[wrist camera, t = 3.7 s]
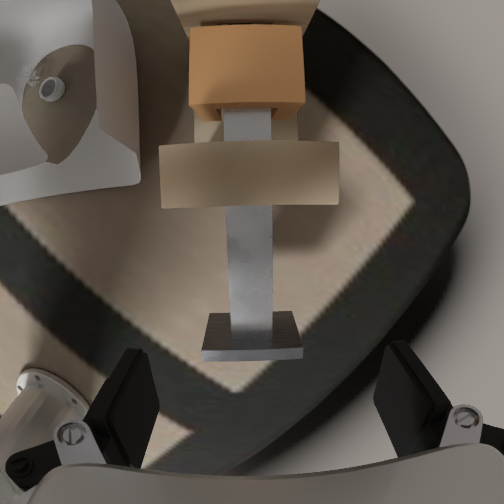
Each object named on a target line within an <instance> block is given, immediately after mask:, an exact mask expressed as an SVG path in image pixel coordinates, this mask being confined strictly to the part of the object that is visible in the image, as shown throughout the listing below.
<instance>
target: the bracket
mask: <svg viewBox="0 0 504 504" xmlns="http://www.w3.org/2000/svg"><path fill="white" fill-rule="evenodd" d="M170 1H171V3H172V5H173V7H174V9H175V11H176V14H177V16H178V18H179V20H180V22H181V24H182V27H183V29H184V31H185V33H186V35H187V38H188V40H189V42H190V28H194V27H205V26H219V25H223V23H268V25H292V26H301V30H302V37H303V35H304V33H305V30H306V28H307V26H308V24H309V22H310V20H311V18H312V16H313V14H314V12H315V10H316V8H317V6H318V3H319V2H320V0H170ZM194 142H195V143H185V144H172V145H161V146H159V169H160V191H161V208H162V209H166V208H187V207H211V206H243V205H339V142H325V141H298V111H297V112H296V113H295V114H294V115H293V116H292V117H291V118H290V120H271V140H250V141H224V112H223V109H222V121H211V122H204V121H203V120H202V119H201V118H200V117H199V116H198V115H197V114H196V112H195V111H194Z"/></svg>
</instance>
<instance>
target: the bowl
mask: <svg viewBox="0 0 504 504" xmlns="http://www.w3.org/2000/svg"><path fill="white" fill-rule="evenodd" d="M75 44H80V45H86V46H88V47H90V48H92V49H93V51H94V62H95V82H96V98H97V106H96V110H95V113H94V115H93V118H92V120H91V122H90V124H89V126H88V128H87V129H86V131H85V133H84V135H83V137H82V138H81V140H80V142H79V143H78V145H77V146H76V147H75V148H74V150H73V151H72V152H71V154H70V155H69V156H68V157H67V158H66V159H64V160H63V161H62V162H60V163H59V164H54V163H50V162H47V161H46V160H47V158H48V155H47V154H46V152H45V151H44V150H43V149H42V147H41V146H40V145H39V143H38V142H37V140H36V139H35V137H34V135H33V133H32V132H31V130H30V128H29V126H28V124H27V122H26V120H25V118H24V116H23V114H22V99H23V93H24V89H25V85H26V82H27V80H28V81H30V80H29V78H31V76H33V75H35V74H36V72H35V71H37V70H38V69H37V70H35V71H34V72H33V71H32V70H34V69H35V68H36V67H35V66H36V65H37V64H38V63H39V61H41V60H42V59H43V58H44V57H45V56H46V55H48V54H50V53H51V52H53V51H55V50H57V49H59V48H61V47H65V46H68V45H75ZM34 67H35V68H34ZM31 73H32V75H31V76H30V74H31ZM33 73H34V74H33ZM29 76H30V77H29ZM28 77H29V78H28ZM35 77H36V78H35ZM35 77H34V76H33V77H32V78H35V81H36V80H37V79H38V78H39V76H38V77H37V76H36V75H35ZM32 78H31V79H32ZM32 81H33V79H32ZM33 82H34V81H33ZM33 82H32V83H31V81H30V85H31V86H33V85H32V84H34V83H33ZM37 83H40V82H37ZM28 84H29V82H28ZM30 85H29V86H30ZM34 86H35V84H34ZM64 91H65V85H64V83H63V81H62V80H61V79H59V78H57V77H48V78H46V79H45V80H44V81H43V82H42V84H41V86H40V89H39V95H40V97H41V98H42V99H44V100H46V101H56V100H58V99H60V98H61V97H62V95H63V94H64ZM140 180H141V170H140V142H139V106H138V81H137V65H136V57H135V50H134V43H133V38H132V34H131V31H130V27H129V24H128V21H127V19H126V16H125V15H124V13H123V11H122V9H121V8H120V6H119V4H118V2H117V1H116V0H0V206H1V205H6V204H10V203H15V202H20V201H25V200H31V199H36V198H42V197H48V196H54V195H60V194H66V193H73V192H80V191H87V190H95V189H103V188H111V187H120V186H130V185H135V184H138V183H139V182H140Z"/></svg>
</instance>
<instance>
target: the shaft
mask: <svg viewBox="0 0 504 504" xmlns="http://www.w3.org/2000/svg"><path fill="white" fill-rule="evenodd" d="M247 24H264V25H268V23H223V25H247ZM223 112H224V141H250V140H271V108H225V109H223ZM226 227H227V253H228V275H229V296H230V313H210V314H209V319H208V323H207V328H206V332H205V337H204V342H203V346H202V358H203V361H263V360H284V359H300V358H303V345H302V342H301V339H300V335H299V332H298V329H297V326H296V323H295V320H294V316H293V313H292V311H278V312H272V304H273V227H272V205H243V206H226Z"/></svg>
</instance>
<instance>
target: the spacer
mask: <svg viewBox="0 0 504 504" xmlns="http://www.w3.org/2000/svg"><path fill="white" fill-rule="evenodd" d="M305 103H306V101H305V78H304V60H303V44H302V30H301V26H292V25H264V24H247V25H219V26H205V27H194V28H190V52H189V106H190V107H191V108H192V109H193V110H194V111H195V112H196V114H197V115H198V116H199V117H200V118H201V119H202V120H203V121H204V122H211V121H222V109H225V108H271V120H290V118H291V117H292V116H293V115H294V114H295V113H296V112H297V111H298V110H299V109H300V108H301V107H302V106H303V105H304V104H305Z"/></svg>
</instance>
